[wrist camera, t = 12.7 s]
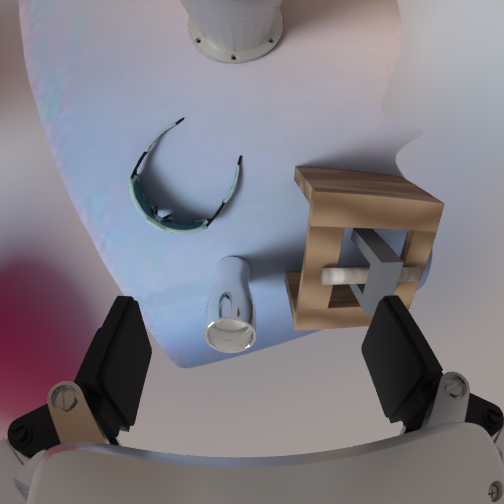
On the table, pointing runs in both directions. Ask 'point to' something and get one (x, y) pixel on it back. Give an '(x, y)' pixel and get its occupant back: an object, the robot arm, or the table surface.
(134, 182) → the sunglasses
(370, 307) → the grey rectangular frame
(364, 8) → the table surface
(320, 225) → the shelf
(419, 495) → the robot arm
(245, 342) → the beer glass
